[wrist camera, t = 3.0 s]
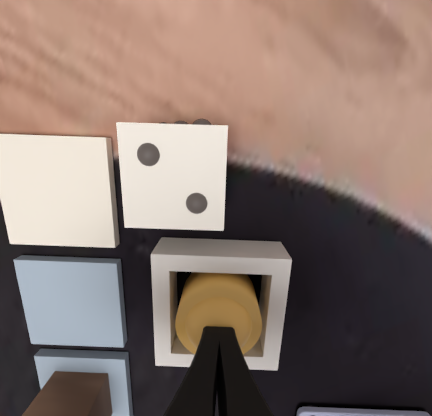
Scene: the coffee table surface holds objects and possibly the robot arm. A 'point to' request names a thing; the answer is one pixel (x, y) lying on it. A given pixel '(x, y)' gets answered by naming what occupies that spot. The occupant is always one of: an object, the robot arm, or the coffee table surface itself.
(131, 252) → the coffee table surface
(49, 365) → the tile
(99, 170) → the tile
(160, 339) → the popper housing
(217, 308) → the dome button
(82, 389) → the brown rectangular block
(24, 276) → the tile
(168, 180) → the die
